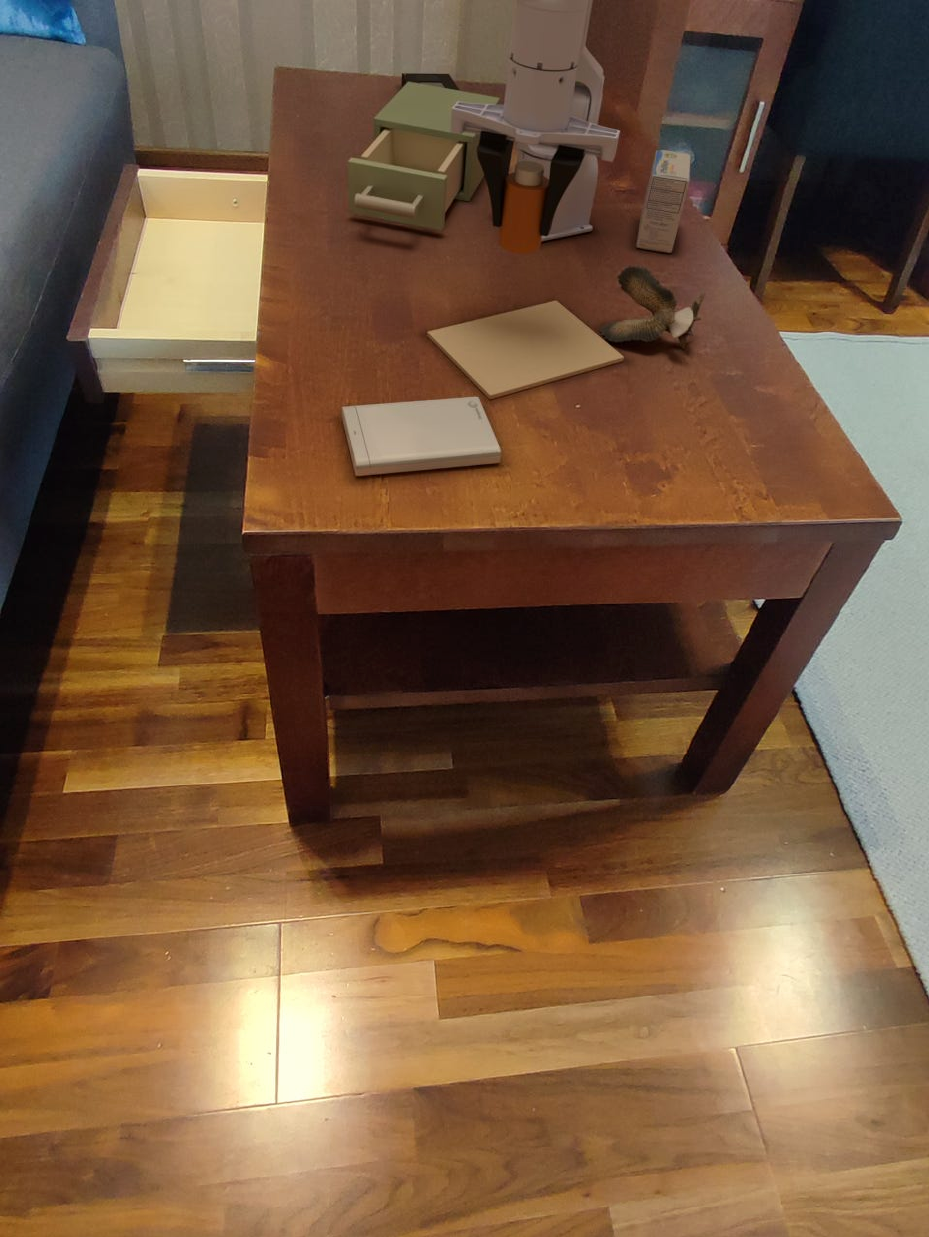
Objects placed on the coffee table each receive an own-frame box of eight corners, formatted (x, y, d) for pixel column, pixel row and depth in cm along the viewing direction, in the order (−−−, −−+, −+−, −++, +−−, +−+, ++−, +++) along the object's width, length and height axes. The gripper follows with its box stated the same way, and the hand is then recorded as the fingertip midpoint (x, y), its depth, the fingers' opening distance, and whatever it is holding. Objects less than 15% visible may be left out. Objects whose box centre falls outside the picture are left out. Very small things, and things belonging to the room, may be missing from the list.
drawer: (431, 247, 95) (434, 194, 90) (336, 228, 96) (334, 175, 91) (469, 186, 106) (473, 137, 102) (383, 170, 107) (384, 120, 103)
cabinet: (468, 201, 105) (474, 136, 100) (373, 183, 107) (373, 118, 101) (494, 159, 115) (500, 97, 109) (406, 143, 116) (408, 81, 110)
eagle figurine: (691, 311, 89) (612, 282, 89) (717, 278, 82) (633, 245, 82) (670, 375, 88) (591, 346, 88) (696, 347, 81) (610, 314, 81)
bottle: (525, 231, 81) (535, 154, 76) (548, 249, 79) (560, 172, 74) (490, 238, 80) (499, 160, 75) (513, 256, 78) (523, 178, 72)
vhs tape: (447, 87, 132) (448, 73, 130) (469, 122, 123) (471, 107, 122) (401, 87, 130) (401, 73, 129) (420, 122, 121) (420, 107, 120)
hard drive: (478, 394, 75) (341, 403, 73) (502, 450, 70) (355, 462, 68) (476, 409, 77) (341, 419, 74) (499, 465, 72) (356, 478, 69)
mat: (555, 304, 90) (556, 300, 90) (623, 361, 84) (624, 356, 84) (427, 335, 84) (427, 331, 84) (489, 399, 78) (490, 395, 77)
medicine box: (671, 255, 100) (691, 179, 94) (634, 248, 100) (652, 173, 94) (673, 227, 105) (693, 153, 99) (638, 221, 106) (655, 147, 99)
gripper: (445, 58, 66) (436, 229, 76) (625, 89, 65) (591, 260, 75) (467, 35, 71) (455, 199, 81) (635, 63, 69) (601, 227, 80)
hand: (521, 226), depth 78 cm, fingers closed on bottle, 4 cm apart
